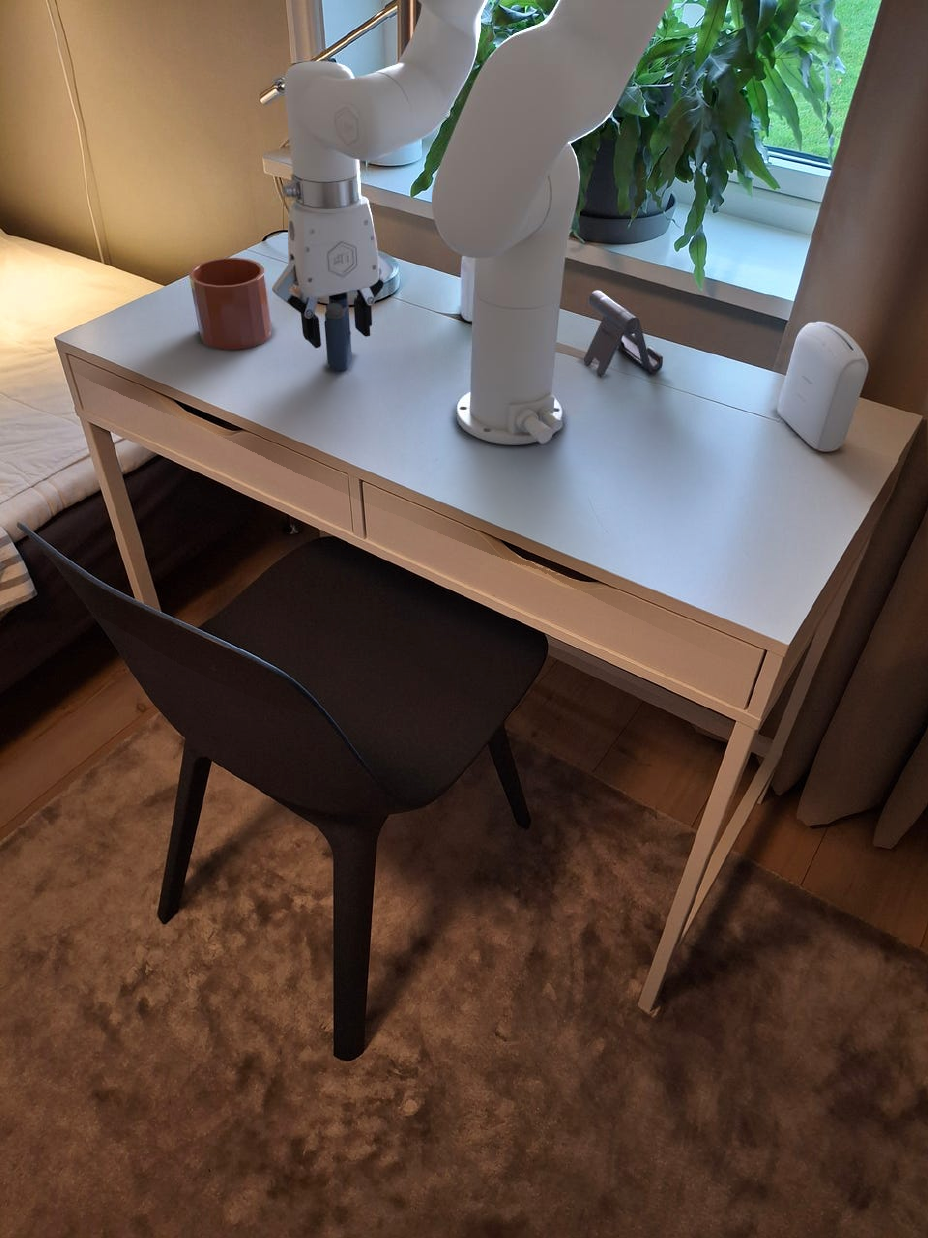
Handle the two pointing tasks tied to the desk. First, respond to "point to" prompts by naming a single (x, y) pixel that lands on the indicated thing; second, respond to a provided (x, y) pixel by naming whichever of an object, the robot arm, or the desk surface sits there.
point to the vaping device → (338, 332)
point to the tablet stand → (618, 336)
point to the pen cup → (231, 303)
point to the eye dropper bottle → (467, 287)
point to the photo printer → (822, 385)
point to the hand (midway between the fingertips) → (338, 336)
